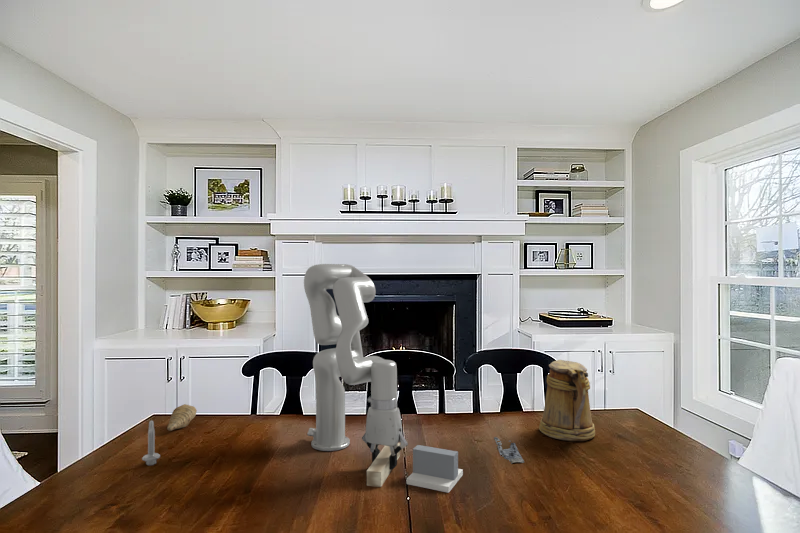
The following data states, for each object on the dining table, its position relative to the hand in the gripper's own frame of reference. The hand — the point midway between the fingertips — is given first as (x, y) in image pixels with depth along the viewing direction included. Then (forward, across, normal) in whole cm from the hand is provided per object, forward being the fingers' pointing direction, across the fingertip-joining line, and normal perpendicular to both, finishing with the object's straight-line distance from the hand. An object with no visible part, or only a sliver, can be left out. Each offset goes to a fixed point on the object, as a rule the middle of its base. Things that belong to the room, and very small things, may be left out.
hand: (384, 465), depth 138 cm
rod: (+1, 0, 0) cm, 1 cm away
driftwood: (+2, +30, +30) cm, 42 cm away
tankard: (+1, +46, +53) cm, 70 cm away
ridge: (+1, +16, 0) cm, 16 cm away
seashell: (+1, -84, 0) cm, 84 cm away
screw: (+1, -65, -26) cm, 70 cm away
